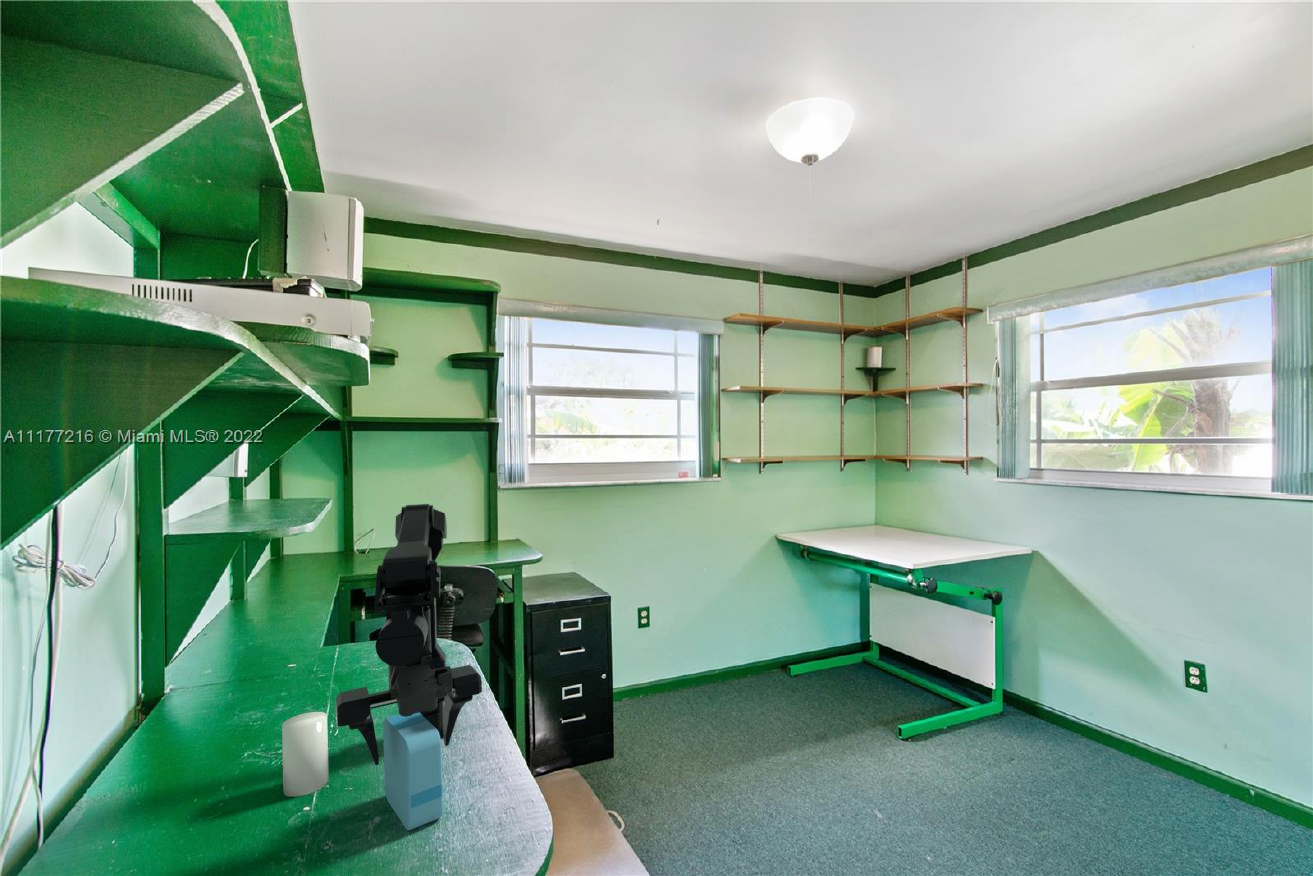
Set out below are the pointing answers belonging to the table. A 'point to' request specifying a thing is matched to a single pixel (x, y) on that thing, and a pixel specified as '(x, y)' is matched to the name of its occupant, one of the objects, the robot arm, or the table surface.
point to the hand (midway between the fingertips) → (412, 754)
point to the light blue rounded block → (413, 769)
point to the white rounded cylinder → (305, 754)
